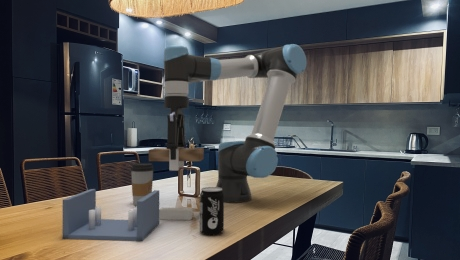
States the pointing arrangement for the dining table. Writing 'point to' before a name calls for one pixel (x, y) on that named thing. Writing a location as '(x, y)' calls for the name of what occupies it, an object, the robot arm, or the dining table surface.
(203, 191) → the beverage can
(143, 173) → the coffee cup
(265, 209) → the dining table surface
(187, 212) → the block
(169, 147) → the robot arm
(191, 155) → the walnut board
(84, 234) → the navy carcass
